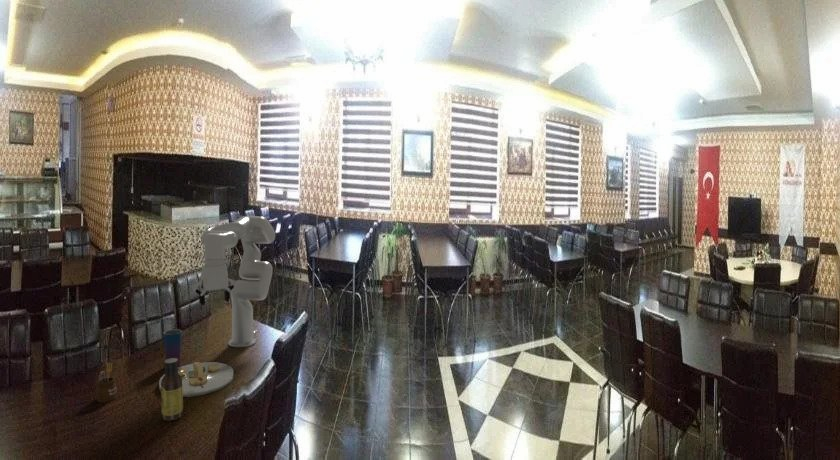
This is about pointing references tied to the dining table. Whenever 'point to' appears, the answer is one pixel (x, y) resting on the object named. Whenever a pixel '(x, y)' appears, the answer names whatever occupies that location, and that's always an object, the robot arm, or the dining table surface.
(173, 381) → the sauce bottle
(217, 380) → the white round plate
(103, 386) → the utensil holder
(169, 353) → the cup
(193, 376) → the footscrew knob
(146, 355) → the dining table surface
